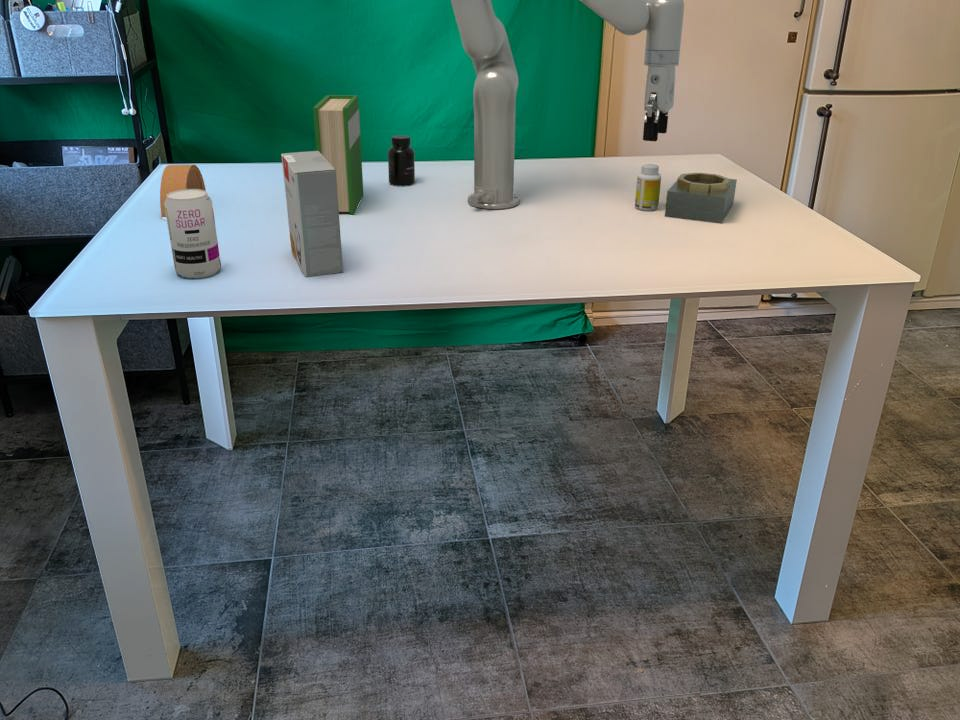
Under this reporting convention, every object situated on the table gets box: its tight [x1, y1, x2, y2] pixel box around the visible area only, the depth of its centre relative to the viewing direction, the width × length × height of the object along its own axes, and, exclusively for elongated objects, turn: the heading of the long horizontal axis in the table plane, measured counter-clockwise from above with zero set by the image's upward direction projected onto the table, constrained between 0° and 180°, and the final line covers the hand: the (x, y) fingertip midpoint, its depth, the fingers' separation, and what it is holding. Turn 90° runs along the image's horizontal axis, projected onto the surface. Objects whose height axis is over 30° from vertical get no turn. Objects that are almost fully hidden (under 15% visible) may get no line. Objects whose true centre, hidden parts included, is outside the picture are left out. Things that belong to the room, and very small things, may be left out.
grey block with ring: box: [664, 172, 738, 225], centre depth 195 cm, size 22×13×8 cm, turn 157°
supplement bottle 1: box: [387, 134, 416, 187], centre depth 212 cm, size 7×7×12 cm
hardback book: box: [312, 94, 364, 216], centre depth 191 cm, size 18×7×24 cm, turn 0°
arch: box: [159, 164, 207, 218], centre depth 191 cm, size 6×20×10 cm, turn 4°
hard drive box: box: [280, 150, 344, 278], centre depth 156 cm, size 16×8×20 cm, turn 21°
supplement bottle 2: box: [634, 163, 662, 212], centre depth 194 cm, size 6×6×10 cm
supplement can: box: [164, 189, 222, 280], centre depth 151 cm, size 8×8×15 cm
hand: (654, 136), depth 188 cm, fingers open, 9 cm apart
